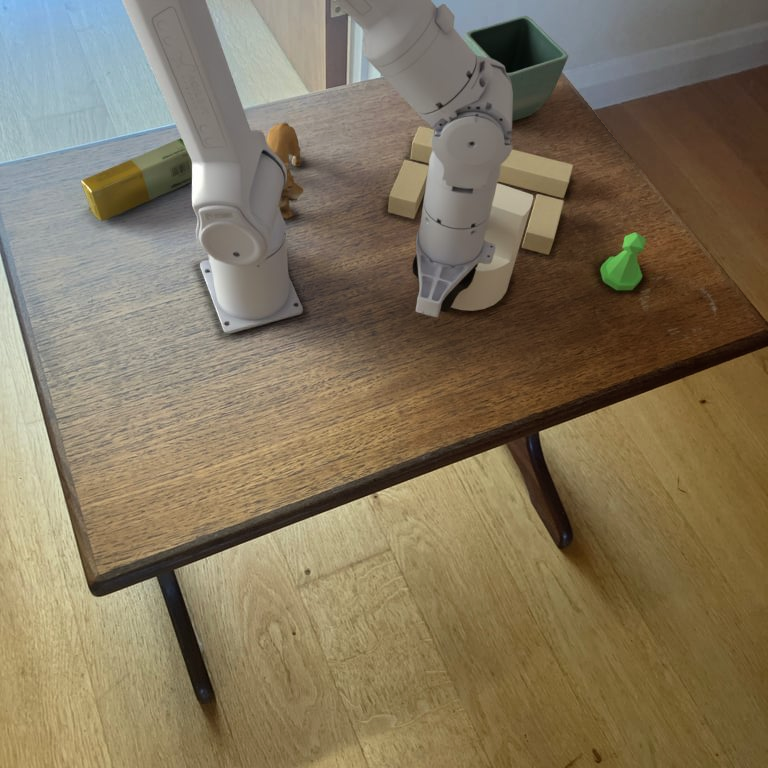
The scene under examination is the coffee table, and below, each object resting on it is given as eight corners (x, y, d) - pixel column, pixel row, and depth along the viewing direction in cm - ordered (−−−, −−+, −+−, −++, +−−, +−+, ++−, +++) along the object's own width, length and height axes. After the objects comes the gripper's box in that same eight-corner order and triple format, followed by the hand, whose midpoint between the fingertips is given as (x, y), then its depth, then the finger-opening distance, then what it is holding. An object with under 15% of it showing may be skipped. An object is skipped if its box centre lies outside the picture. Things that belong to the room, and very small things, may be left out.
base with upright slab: (519, 261, 87) (545, 175, 77) (492, 322, 82) (515, 239, 72) (440, 233, 88) (455, 145, 78) (409, 292, 83) (420, 206, 73)
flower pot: (453, 97, 101) (463, 31, 93) (512, 79, 103) (527, 13, 96) (490, 141, 97) (504, 76, 89) (552, 121, 99) (570, 56, 92)
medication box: (188, 167, 91) (181, 136, 88) (200, 179, 90) (194, 148, 87) (88, 210, 87) (78, 179, 83) (100, 223, 85) (90, 192, 82)
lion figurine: (305, 244, 86) (303, 180, 79) (254, 245, 86) (247, 180, 78) (302, 148, 94) (300, 82, 87) (255, 149, 94) (249, 81, 86)
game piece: (636, 296, 85) (656, 257, 80) (596, 284, 86) (613, 245, 81) (643, 266, 87) (662, 227, 82) (603, 255, 88) (620, 215, 83)
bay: (548, 255, 87) (554, 239, 85) (387, 212, 89) (389, 195, 87) (568, 181, 94) (573, 164, 92) (417, 142, 96) (419, 125, 94)
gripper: (483, 279, 65) (459, 374, 76) (521, 160, 72) (494, 263, 84) (397, 255, 65) (387, 354, 77) (444, 141, 73) (428, 245, 85)
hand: (438, 305), depth 80 cm, fingers closed
